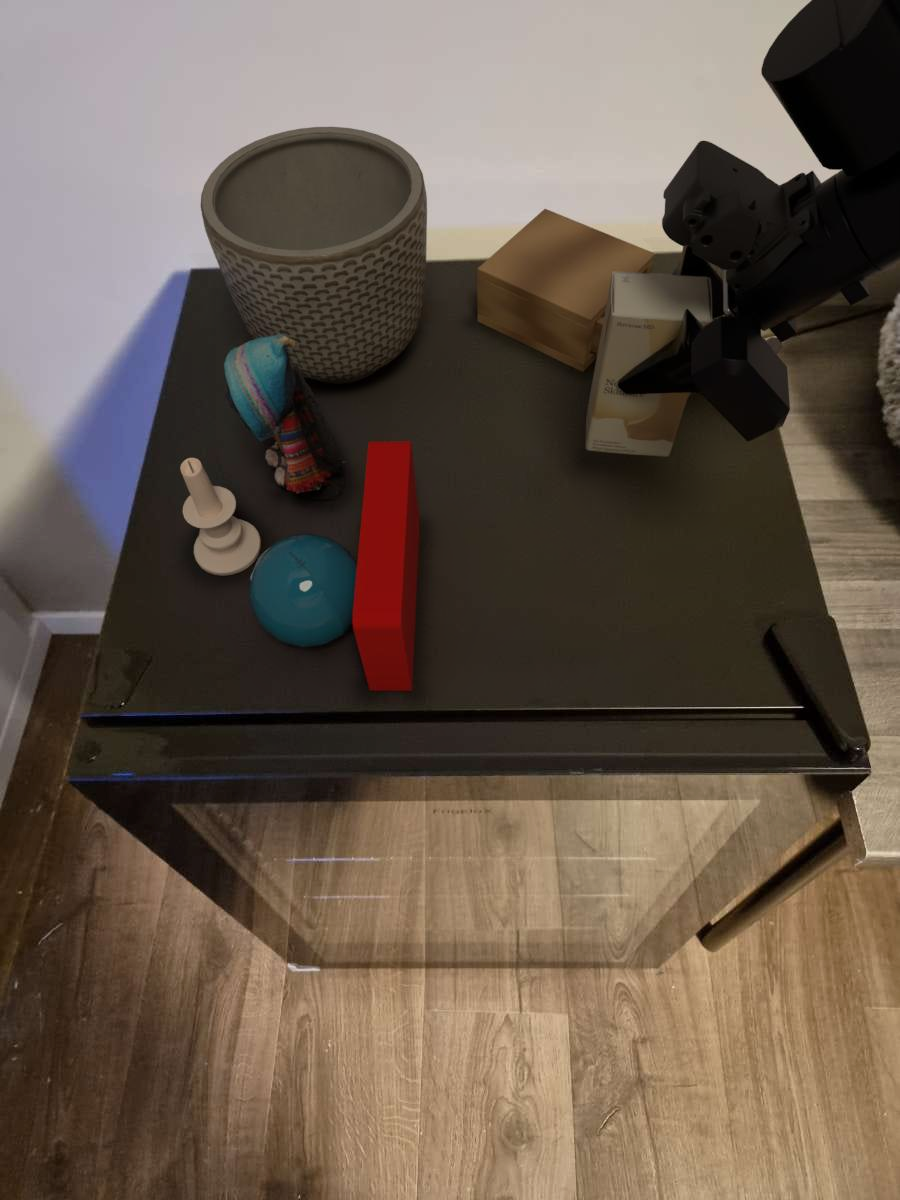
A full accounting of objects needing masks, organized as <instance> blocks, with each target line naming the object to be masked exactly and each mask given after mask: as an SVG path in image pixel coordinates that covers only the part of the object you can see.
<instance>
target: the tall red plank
mask: <svg viewBox="0 0 900 1200" xmlns="http://www.w3.org/2000/svg"><path fill="white" fill-rule="evenodd" d="M413 454H414V453H413V443H412V441H411V440H410V441H409V440H408V441H407V440H406V441H404V440H402V441H401V440H400V441H399V440H398V441H396V440H395V441H393V440H392V441H389V440H387V441H383V440H382V441H368V446H367V453H366V465H365V477H364V488H363V497H362V510H361V521H360V531H359V541H358V553H357V562H356V563H357V574H356V585H355V595H354V606H353V624H352V629H353V633H354V636H355V640H356V641H355V642H356V644H357V648H358V652H359V655H360V659H361V663H362V667H363V670H364V674H365V678H366V681H367V685H368V688H369V692H371V691H374V692H375V691H376V692H378V691H379V692H380V691H381V692H386V691H387V692H397V691H398V692H412V691H413V682H414V662H415V661H414V660H415V659H414V658H415V640H416V639H415V636H416V635H415V634H416V615H417V614H416V613H417V596H418V595H417V589H418V570H419V569H418V568H419V550H420V549H419V546H420V513H419V503H418V496H417V495H418V494H417V492H418V491H417V483H416V474H415V463H414V455H413Z"/></svg>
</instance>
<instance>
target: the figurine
mask: <svg viewBox="0 0 900 1200" xmlns="http://www.w3.org/2000/svg"><path fill="white" fill-rule="evenodd" d="M288 347H297V346H296V343H295V340H292V339H290V338H288V337H286V336H285V335H282V334H277V335H275V336H271V337H260V338H258V339H255V340H253V339H252V340H249V341H247V342H245V343H242V344H241V345H239V346H235V347H233V348H232V349H231V350H230V351H229V352H228V353H227V355H226V357H225V360H224V362H223V368H224V369H223V370H224V375H225V379H226V386H227V392H226V394H224V395H225V397H226V399H227V401H228V404H229V408H231V409H233V410H234V412H235V413H236V414H237V417H238V418H239V419H240V421H241V422H242V424H243V425H244V427H245V429H248V430H249V429H250V430H251V433H252V434H253V435H254V436H255V437H256V439H257V440H258V441H259V442H263V441H265V440H267V439H270V438H273V439H274V440H275V441H274V444H273V445H272V446H270V447H268V448H267V450H266V451H265V457H264V458H265V460H266V462H267V464H268V467H270V468H273V469H275V472H274V480H275V482H276V484H277V486H278V487H280V488H282V489H286V490H287V491H288V492H290V493H296V494H297V495H298V494H301V497H303V498H308V497H310V498H311V499H313V500H315V501H319V502H328V501H336V500H339V499H341V498H342V496H343V495H344V494H345V476H344V475H345V473H346V472H345V469H344V467H343V463H345V461H342V460H341V458H340V456H339V453H338V450H337V448H336V447H335V445H334V444H335V443H334V440H333V439H332V436H331V433H330V431H329V427H328V422H327V420H326V418H325V415H324V413H323V411H322V409H321V406H320V404H319V402H318V401H317V399H316V397H315V394H314V393H313V390H312V388H311V387H310V385H309V384H308V383H307V381H306V379H305V377H303V375H302V373H301V371H300V369H299V368H298V367H297V366H294V368H293V369H292V365H291V362H290V358H289V354H288V352H287V348H288Z"/></svg>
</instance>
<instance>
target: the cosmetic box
mask: <svg viewBox="0 0 900 1200" xmlns="http://www.w3.org/2000/svg"><path fill="white" fill-rule="evenodd" d="M671 274H672V273H671ZM671 274H670V273H661V272H660V273H659V272H651V273H630V272H617V271H614V272H613V273H612V277H611V283H610V289H609V294H608V300H607V305H606V311H605V316H604V321H603V327H602V332H601V338H600V343H599V348H598V354H597V358H596V359H595V366H594V370H593V376H592V382H591V387H590V388H591V389H590V393H589V399H588V404H587V410H586V421H585V450H586V451H590V452H591V451H592V452H599V453H601V452H602V453H611V454H621V455H637V456H650V457H651V456H652V457H654V456H655V457H669V456H670V455H671V451H672V448H673V445H674V442H675V438H676V437H677V436H676V435H677V432H678V429H679V426H680V423H681V420H682V417H683V413H684V412H685V411H684V410H685V408H686V405H687V401H688V398H689V397H688V395H689V393H655V394H625V393H624V392H623V391H622V390H621V389H620V388H619V387H618V381H619V380H620V379H621V378H622V377H623V376H624V375H626V374H627V373H628V372H629V371H630V370H632V369H633V368H634V367H636V366H637V365H638V364H640V363H641V362H643V361H644V360H645V359H647V358H648V357H650V356H651V355H652V354H654V353H655V352H657V351H658V350H660V349H661V348H662V347H664V346H665V345H667V344H668V343H669V342H671V341H672V340H674V339H675V338H676V337H677V336H678V334H679V330H680V326H681V323H682V319H683V315H684V312H685V310H686V309H688V310H689V311H690V312H691V313H692V314H693V315H694V316H695V318H696V319H697V320H698V321H699V322H700V323H701V324H702V325H703V327H704V326H706V325H707V324H709V323H711V322H712V321H713V319H712V287H711V279H710V278H708V277H697V276H681V275H671Z"/></svg>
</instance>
